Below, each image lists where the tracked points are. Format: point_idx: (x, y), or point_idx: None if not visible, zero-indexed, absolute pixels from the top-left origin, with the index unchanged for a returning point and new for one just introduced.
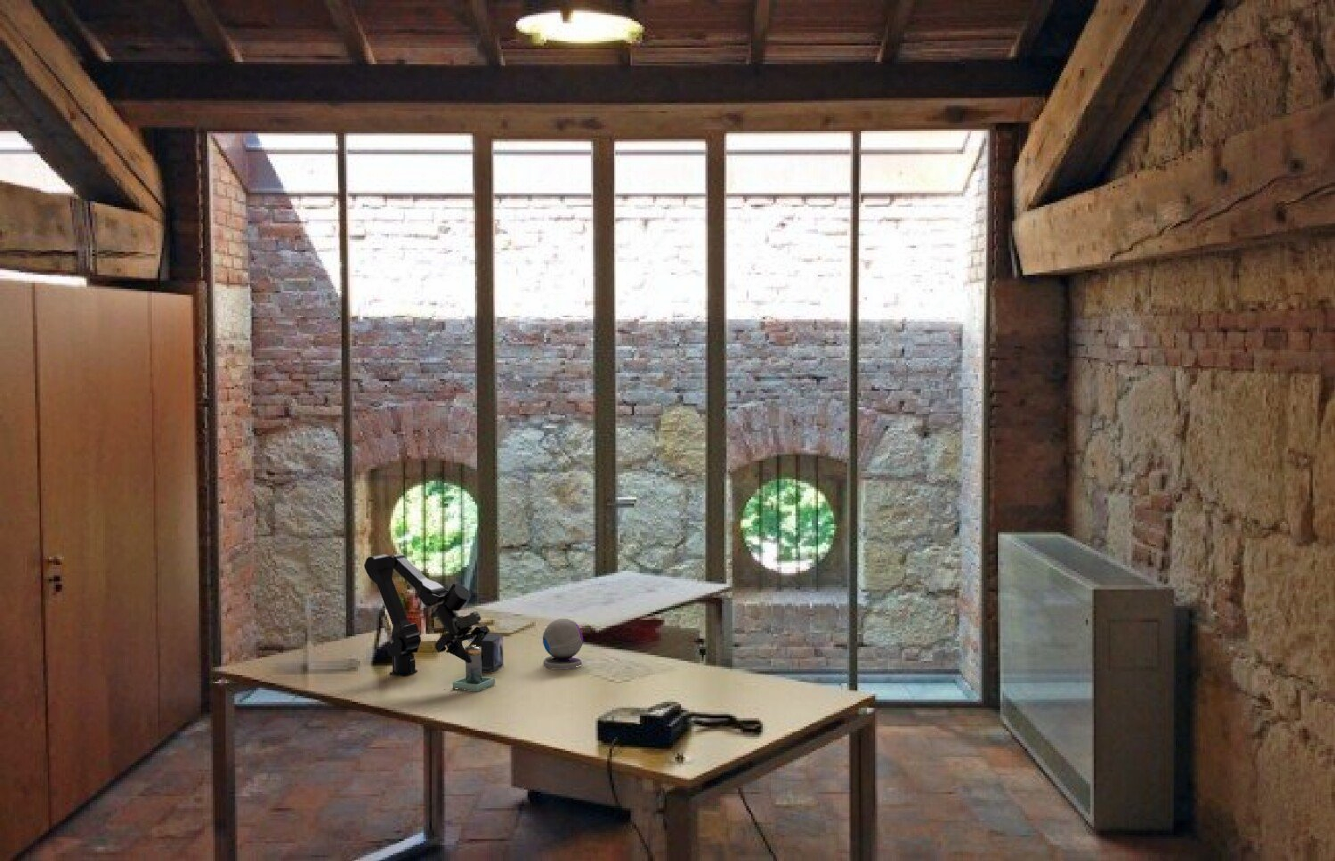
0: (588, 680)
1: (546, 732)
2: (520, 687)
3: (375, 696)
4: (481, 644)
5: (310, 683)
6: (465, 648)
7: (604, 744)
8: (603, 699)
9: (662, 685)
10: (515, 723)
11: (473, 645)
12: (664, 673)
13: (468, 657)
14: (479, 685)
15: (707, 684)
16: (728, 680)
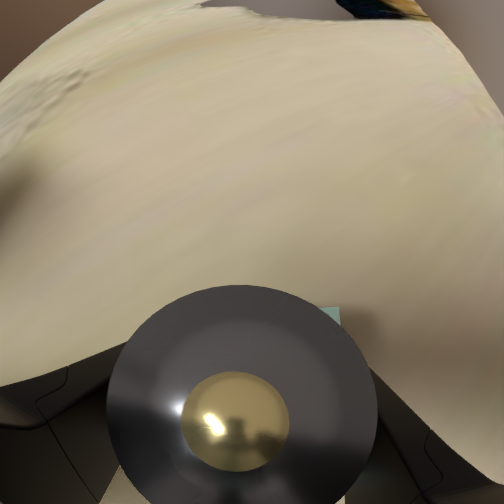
0: (70, 111)
1: (439, 52)
2: (179, 199)
3: None
4: (36, 378)
5: None
6: (351, 485)
7: (408, 17)
8: (222, 35)
9: (106, 39)
10: (456, 87)
11: (229, 413)
12: (34, 75)
13: (374, 380)
14: (325, 308)
15: (98, 25)
16: (79, 28)
